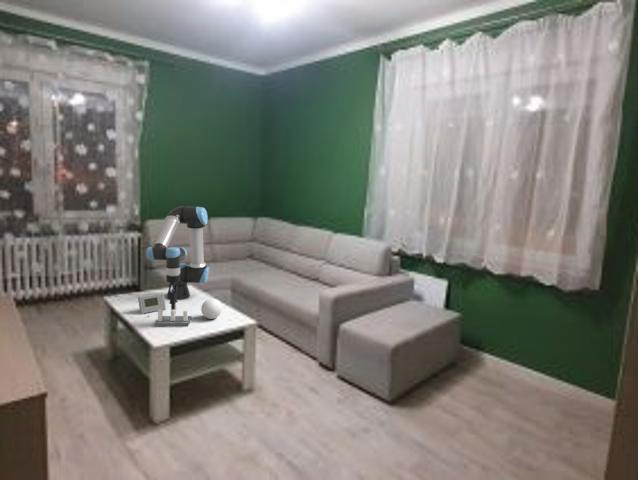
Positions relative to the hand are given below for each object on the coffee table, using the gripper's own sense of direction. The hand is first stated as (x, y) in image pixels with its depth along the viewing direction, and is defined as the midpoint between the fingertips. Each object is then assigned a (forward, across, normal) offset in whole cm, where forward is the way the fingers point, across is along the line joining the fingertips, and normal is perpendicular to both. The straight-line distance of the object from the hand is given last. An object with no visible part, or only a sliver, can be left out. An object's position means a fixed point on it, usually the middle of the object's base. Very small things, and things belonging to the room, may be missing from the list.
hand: (173, 313), depth 242 cm
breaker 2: (+3, +2, +7) cm, 8 cm away
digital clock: (+6, -21, -17) cm, 27 cm away
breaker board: (+6, 0, 0) cm, 6 cm away
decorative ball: (+6, -8, +21) cm, 23 cm away
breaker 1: (+3, +2, -7) cm, 8 cm away
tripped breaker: (+3, +2, 0) cm, 4 cm away
